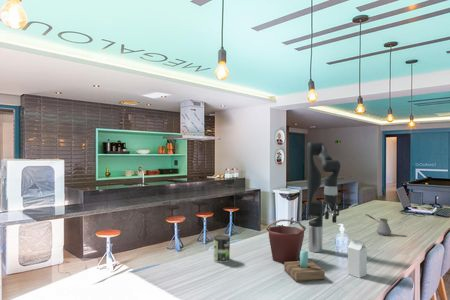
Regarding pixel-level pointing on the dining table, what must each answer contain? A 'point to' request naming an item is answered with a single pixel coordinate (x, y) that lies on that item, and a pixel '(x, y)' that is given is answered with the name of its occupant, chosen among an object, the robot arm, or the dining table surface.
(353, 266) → the milk carton
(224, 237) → the coffee can
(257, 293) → the dining table surface
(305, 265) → the dowel
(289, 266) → the bore block
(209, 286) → the dining table surface
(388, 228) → the coffee pot
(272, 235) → the bucket
